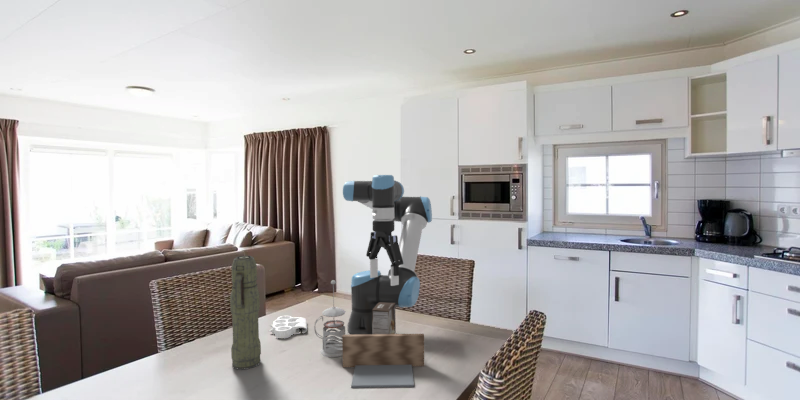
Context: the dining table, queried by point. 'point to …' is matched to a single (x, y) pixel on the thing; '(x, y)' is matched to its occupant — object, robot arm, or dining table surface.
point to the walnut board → (383, 349)
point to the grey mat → (382, 376)
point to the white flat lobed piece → (288, 326)
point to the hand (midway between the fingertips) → (383, 281)
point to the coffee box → (383, 318)
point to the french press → (332, 346)
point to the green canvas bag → (245, 313)
